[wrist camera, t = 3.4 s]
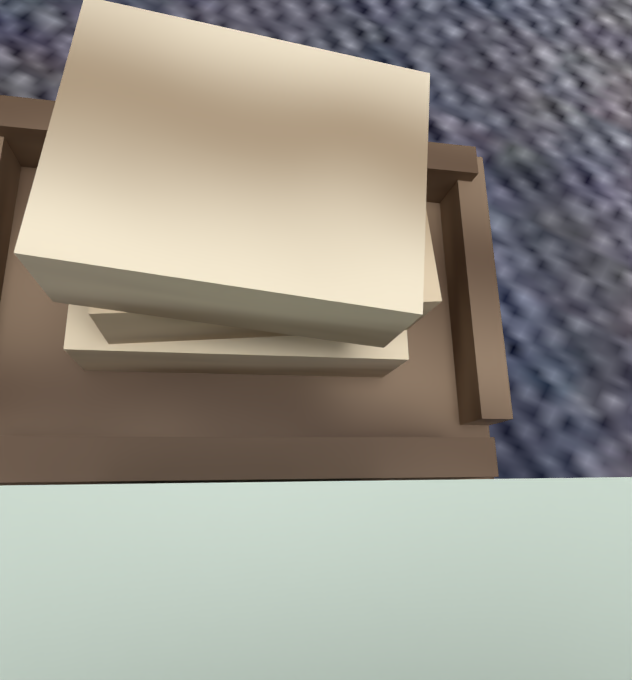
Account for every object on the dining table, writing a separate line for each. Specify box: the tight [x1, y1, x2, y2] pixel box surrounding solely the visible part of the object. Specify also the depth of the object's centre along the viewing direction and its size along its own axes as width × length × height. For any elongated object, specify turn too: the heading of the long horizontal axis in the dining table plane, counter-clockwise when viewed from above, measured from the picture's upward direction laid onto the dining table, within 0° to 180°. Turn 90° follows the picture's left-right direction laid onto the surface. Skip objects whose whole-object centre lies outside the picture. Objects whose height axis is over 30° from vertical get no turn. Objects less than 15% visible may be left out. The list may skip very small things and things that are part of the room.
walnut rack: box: [0, 95, 513, 486], centre depth 15 cm, size 18×16×4 cm
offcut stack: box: [14, 0, 442, 378], centre depth 14 cm, size 7×9×7 cm
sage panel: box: [0, 477, 632, 680], centre depth 9 cm, size 2×7×13 cm, turn 91°
